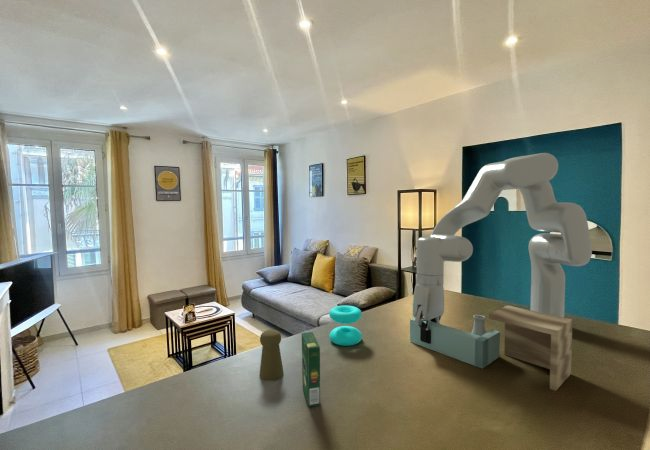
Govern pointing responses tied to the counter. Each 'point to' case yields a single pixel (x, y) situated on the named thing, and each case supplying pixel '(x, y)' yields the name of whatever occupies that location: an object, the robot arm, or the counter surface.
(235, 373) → the counter surface
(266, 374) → the olive pawn
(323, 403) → the counter surface
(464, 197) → the robot arm
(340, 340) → the donuts
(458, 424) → the counter surface
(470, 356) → the block
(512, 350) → the wooden corner bracket
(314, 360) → the coffee box
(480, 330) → the flask
